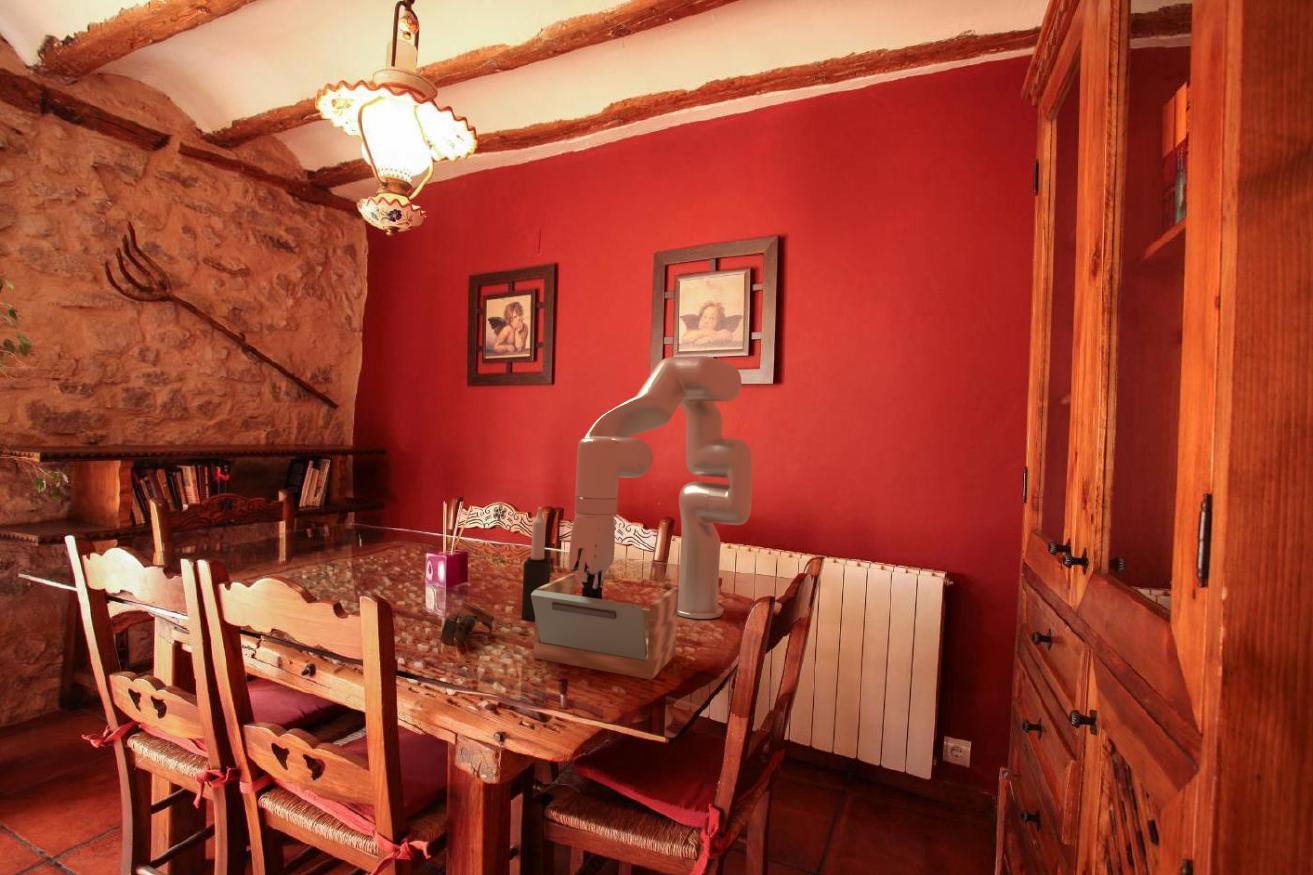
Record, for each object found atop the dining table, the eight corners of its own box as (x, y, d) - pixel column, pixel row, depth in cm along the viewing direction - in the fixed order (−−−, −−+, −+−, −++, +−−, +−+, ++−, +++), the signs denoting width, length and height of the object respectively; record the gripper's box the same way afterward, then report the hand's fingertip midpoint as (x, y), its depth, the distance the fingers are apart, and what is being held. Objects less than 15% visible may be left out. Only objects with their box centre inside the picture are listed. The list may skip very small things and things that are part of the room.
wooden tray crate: (567, 636, 130) (570, 573, 130) (675, 654, 122) (678, 587, 122) (533, 658, 117) (536, 588, 117) (651, 679, 109) (655, 605, 109)
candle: (541, 621, 138) (546, 509, 138) (519, 619, 139) (524, 507, 139) (549, 615, 143) (554, 506, 143) (528, 613, 144) (533, 504, 144)
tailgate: (544, 636, 117) (534, 589, 113) (647, 653, 111) (641, 605, 106) (538, 644, 116) (529, 596, 111) (643, 662, 109) (637, 613, 105)
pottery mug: (438, 635, 128) (459, 597, 131) (479, 655, 129) (500, 618, 132) (432, 639, 117) (456, 598, 120) (478, 661, 118) (500, 620, 121)
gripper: (594, 501, 120) (589, 596, 120) (557, 509, 106) (552, 617, 106) (630, 504, 118) (626, 602, 118) (597, 513, 103) (592, 624, 104)
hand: (591, 609), depth 112 cm, fingers closed
